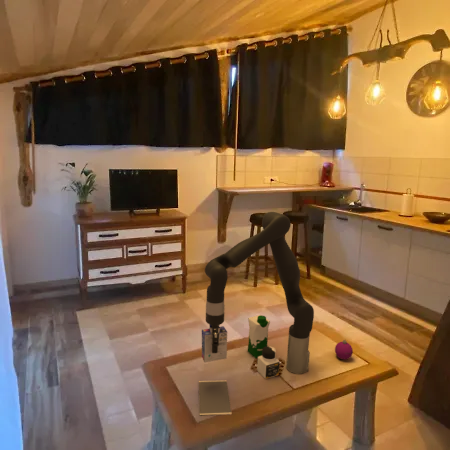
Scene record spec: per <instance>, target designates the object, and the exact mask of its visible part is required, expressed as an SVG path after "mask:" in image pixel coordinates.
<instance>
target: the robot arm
mask: <svg viewBox="0 0 450 450" xmlns="http://www.w3.org/2000/svg"><path fill="white" fill-rule="evenodd" d="M261 224H262V229H263V230H261V231H260V232H258V233H256V234H255V235H252V236H250V237H248V238H245V239H243V240H241V241H239V242H238V243H236V244H235V245H233V247H231V248H230V249H229V250H227V251H226V252H225V253H223V254H221V255H218V256H216V257H214V258H213V259H211V260H210V261H209V262H207V264H206V265H205V267H204V274H205V275H206V276H207V277H208V278H209V280H210V282H209V283H210V284H209V285H208V286H207V289H206V300H205V301H206V303H205V322H206V324H207V325H209V324H210V325H211V327H210V326H209V328H210V332H211V334H212V335H211V339H212V353H217V352H218V346H219V331H220V327H221V326H220V325H222V324H223V323H224V322H225V309H226V308H225V306H226V305H225V290H226V286H227V282H228V275H229V274H228V270H227V269H229V268H236V267H238V266H240V265H241V264H242V263H244V262H245V261H246V260H247V259H249V257H251V256H252V255H254V254H256V253H257V252H258V251H259V250H261V249H262V248H264V247H266V246H267V245H269V246H270V250H271V253H272V257H273V260H274V263H275V266H276V267H275V268H276V271H277V274H278V277H279V280H280V283H281V285H282V289H283V291H284V292H283V293H284V296H285V301H286V308H287V311H288V313H289V315H290V316H291V317H293V318H294V319H293V324H291V325H289V328H288V340H287V354H286V355H287V356H286V365H285V366H286V369H287V370H288V372H290V373H293V374H296V375H297V374H298V375H300V374H304V373H306V372H309V364H310V354H311V353H310V351H309V348H310V336H311V332H312V330H313V324H314V316H315V310H314V307H313V306H312V305H311V304H310V303H309V302H308V301H307V300H306V299H305V298H304V296H303V294H302V291H301V288H300V279H301V270H300V266H299V263H298V260H297V257H296V256H295V253H294V252H293V250H292V248H291V247H290V245H289V244H288V243H287V240H286V238H285V237H286V236H285V235H287V233H288V232H289V231H290V228H291V220H290V218H289V217H288V216H287V215H285V214H282V213H279V212H274V211H268V212H266V213H265V214H264V215H263V218H262V219H261ZM214 341H217V342H214Z"/></svg>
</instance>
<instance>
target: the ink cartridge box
mask: <svg viewBox="0 0 450 450" xmlns="http://www.w3.org/2000/svg"><path fill="white" fill-rule="evenodd" d="M208 325H209V327H208V328H204V329H201V358H202V361H203V362H204V363H209V362H215V361H221V360H226V359H228V330H227V329H226V328H225V326H223V325H221V326H219V327H220V331H219V346H218V352H217V353H212V339H211V335H212V334H211V332H210V327H211V325H210V324H208ZM214 342H217V341H214Z"/></svg>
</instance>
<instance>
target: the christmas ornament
mask: <svg viewBox="0 0 450 450" xmlns="http://www.w3.org/2000/svg"><path fill="white" fill-rule="evenodd" d="M334 352H335V355H336V356H337V358H338V359H340V360H348V359H350V358H351V357H352V356H353V353H354V352H353V347H352V345H351V344H350V343H348V342H347V340H346V339H344V340H342V341H340V342H338V343H336V345H335V347H334Z"/></svg>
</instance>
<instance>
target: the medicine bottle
mask: <svg viewBox="0 0 450 450" xmlns="http://www.w3.org/2000/svg"><path fill="white" fill-rule="evenodd" d="M276 356H277V349H276V348H275V347H273V346H268V345H267V346H266V347H264V348H263V349H262V356H259V357H258V358H257V366H256V367H257V369H256V371H257V372H258V374H260V375H261V376H262V377H263V378H264V379H265V380H267V379H270V378H273V377H276V376H279V373H280V360H279V359H278V358H277V357H276Z"/></svg>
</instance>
